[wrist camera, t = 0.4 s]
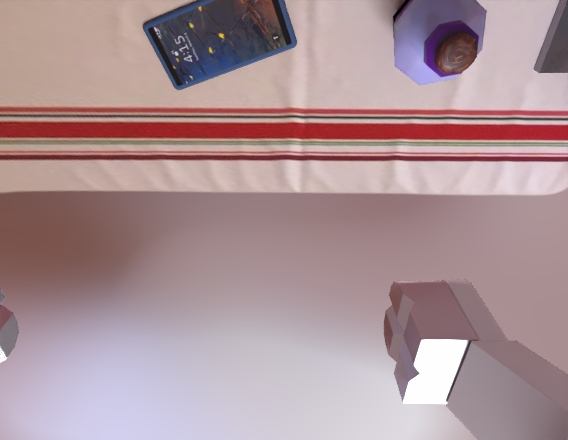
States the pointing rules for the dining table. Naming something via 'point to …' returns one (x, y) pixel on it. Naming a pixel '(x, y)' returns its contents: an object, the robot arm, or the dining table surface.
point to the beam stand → (555, 44)
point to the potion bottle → (437, 38)
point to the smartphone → (218, 37)
